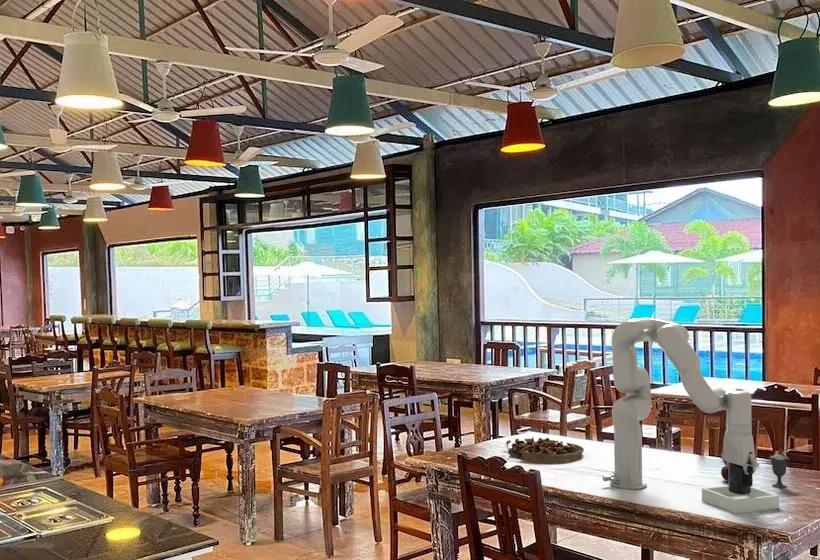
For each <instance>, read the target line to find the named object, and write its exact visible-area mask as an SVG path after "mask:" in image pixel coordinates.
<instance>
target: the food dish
mask: <svg viewBox="0 0 820 560" xmlns="http://www.w3.org/2000/svg"><path fill="white" fill-rule="evenodd" d="M511 442H512V440H509V439H508V440H506V441H505V444H504V446H505V448H506V449H508V454H509V457H511V458H513V459H517V460H521V461H523V462H524V463H530V464H534V465H537V464H538V465H541V464H542V465H565V464H570V463H573V462H578V461H580V460H582V457H583V456H582V455H583V453H584V451H585V449H584V447H583V446H581V445H579V444H575V443H570V442H566V443H565V444H566V445H565V444H563V443H564V441H560V442H559V440H554V439H550V438H549V437H546V438H544V439H543V438H542V437H539V438H538V440H537V441H535V440H534V436H532V438H524V440H520V439H519V438H515V439H514V442H515V443H514V442H513V443H512V444H511ZM509 444H511V447H509Z"/></svg>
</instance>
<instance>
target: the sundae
mask: <svg viewBox="0 0 820 560" xmlns="http://www.w3.org/2000/svg"><path fill="white" fill-rule="evenodd" d="M782 446H783V445H780V447H778V448H779V449H777V450H775V451H774V454H772V455H770V456H769V457H768V459H769V460H770V462H771V468H772V469H771V470H772V472H773V474H774V475H775V476H776V477H777V481H776V483H774V484H771V486H772V488H776V489H787V488H788V486H787V485H785V484H783V482H782V478H783V476H784V475H786V473H787V472H786V471H787V466H788V461H790V458H789V457H788V456H787V455H786V453H785V452H784V450H783V448H781V447H782Z"/></svg>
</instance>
